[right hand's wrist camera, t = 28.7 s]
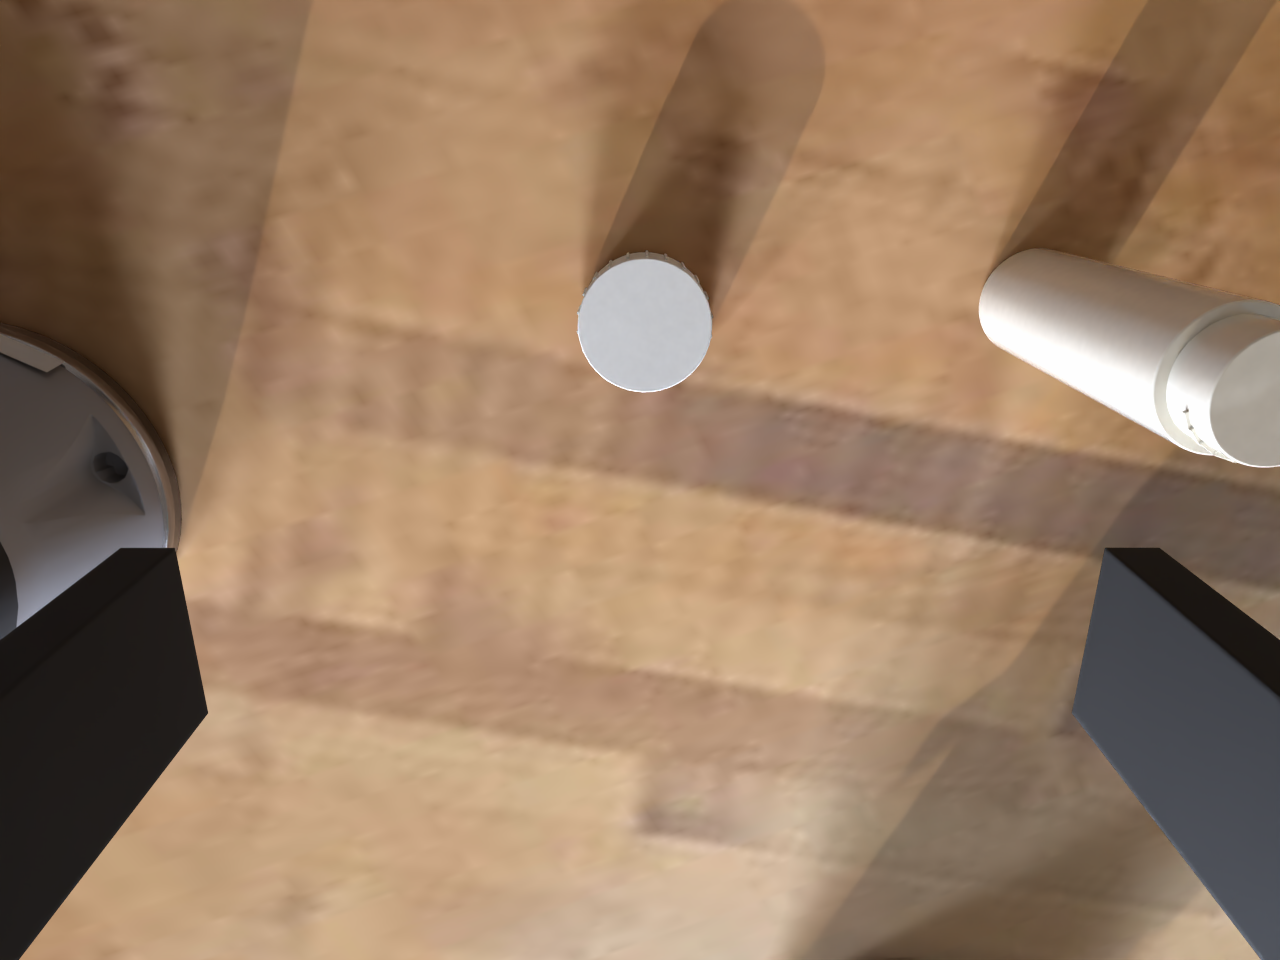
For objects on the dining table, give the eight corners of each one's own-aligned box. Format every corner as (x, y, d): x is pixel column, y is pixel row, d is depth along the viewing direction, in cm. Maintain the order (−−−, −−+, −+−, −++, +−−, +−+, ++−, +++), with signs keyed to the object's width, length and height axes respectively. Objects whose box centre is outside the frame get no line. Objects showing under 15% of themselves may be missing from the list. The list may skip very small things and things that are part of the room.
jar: (1053, 368, 38) (1307, 501, 24) (960, 334, 38) (1161, 450, 23) (1104, 269, 37) (1409, 347, 22) (1008, 232, 36) (1256, 287, 22)
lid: (590, 239, 36) (586, 245, 34) (721, 263, 37) (727, 270, 34) (570, 368, 38) (566, 381, 36) (696, 390, 38) (699, 403, 36)
